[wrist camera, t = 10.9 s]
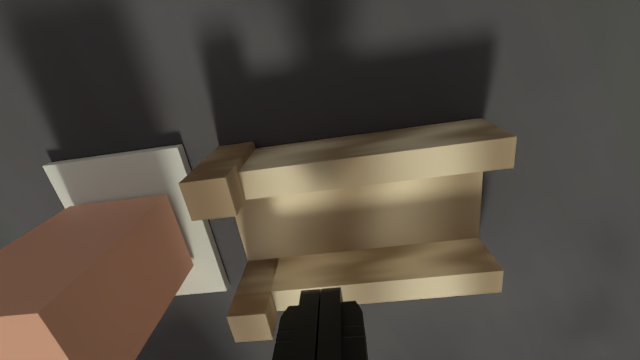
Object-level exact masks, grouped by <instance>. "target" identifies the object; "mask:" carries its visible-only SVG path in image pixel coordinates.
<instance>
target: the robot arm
mask: <svg viewBox="0 0 640 360" xmlns="http://www.w3.org/2000/svg"><path fill="white" fill-rule="evenodd" d="M272 360H368V355H367V344H366V336H365V328H364V320H363V313H362V310H361V308H360V307H359V305H358V304H357V302H356V301H345V302H343V298H342V291H341V287H336V288H324V289H314V290H302V291H301V294H300V300H299V305H296V306H288V307H287V309H286V310H285V312H284V313H283V315H282V316H281V319H280V324H279V328H278V333H277V338H276V344H275V348H274V353H273V358H272Z"/></svg>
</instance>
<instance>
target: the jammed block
mask: <svg viewBox="0 0 640 360" xmlns="http://www.w3.org/2000/svg"><path fill="white" fill-rule="evenodd" d="M193 266H194V265H193V262H192V259H191V257H190V254H189V252H188V249H187V246H186V244H185V241H184V239H183V236H182V233H181V231H180V228H179V225H178V223H177V220H176V218H175V215H174V212H173V210H172V207H171V204H170V202H169V199H168V197H167V194H165V195H157V196H149V197H141V198H133V199H125V200H117V201H109V202H101V203H93V204H85V205H77V206H69V207H68V208H66V209H64V210H63V211H61V212H60V213H58V214H56V215H55V216H53V217H52V218H50V219H48V220H47V221H45V222H44V223H42V224H40V225H39V226H37V227H36V228H34V229H33V230H31V231H29V232H28V233H26V234H25V235H23V236H21V237H20V238H18V239H17V240H15V241H13V242H12V243H10V244H9V245H7V246H5V247H4V248H2V249H1V250H0V360H135V359H136V358H137V356H138V355H139V353H140V351H141V350H142V348H143V347H144V345H145V343H146V342H147V340H148V338H149V337H150V335H151V334H152V332H153V330H154V329H155V327H156V326H157V324H158V322H159V321H160V319H161V318H162V316H163V314H164V313H165V311H166V309H167V308H168V306H169V305H170V303H171V301H172V300H173V298H174V297H175V295H176V293H177V292H178V290H179V289H180V287H181V285H182V284H183V282H184V280H185V279H186V277H187V276H188V274H189V272H190V271H191V269H192V268H193Z"/></svg>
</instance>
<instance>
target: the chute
mask: <svg viewBox="0 0 640 360" xmlns="http://www.w3.org/2000/svg"><path fill="white" fill-rule="evenodd" d="M516 139H517V136H515V135H513V134H511V133H509V132H507V131H505V130H503V129H501V128H499V127H497V126H495V125H494V124H492V123H490V122H488V121H486V120H484V119H482V118H476V119H469V120H461V121H454V122H446V123H439V124H432V125H424V126H417V127H409V128H402V129H395V130H387V131H380V132H372V133H365V134H358V135H350V136H343V137H335V138H328V139H321V140H313V141H306V142H298V143H291V144H284V145H276V146H269V147H261V148H255V144H254V141H253V142H246V143H238V144H231V145H224V146H218V147H217V148H216V149H215V150H214V151H213V152H212V153H211V154H210V155H209V156H208V157H207V158H205V159H204V160H203V161H202V162H201V163H200V164H199V165H198V166H197V167H196V168H195V169H194V170H192V171H191V172H190V173H189V174H188V175H187V176H186V177H185V178H184V179H183V180H182V181H180V182H179V183H178V184H179V187H180V189H181V192H182V195H183V198H184V201H185V203H186V206H187V209H188V212H189V214H190V217H191V220H192V221H198V220H207V219H216V218H224V217H233V216H235V219H236V222H237V225H238V229H239V232H240V235H241V239H242V242H243V246H244V249H245V252H246V256H247V259H248V262H247V265H246V268H245V270H244V273H243V275H242V278H241V281H240V283H239V286H238V288H237V291H236V294H235V296H234V299H233V301H232V304H231V307H230V309H229V312H228V314H227V320H228V323H229V326H230V328H231V331H232V334H233V337H234V339H235V342H248V341H261V340H273V336H274V331H275V326H276V321H277V317H278V312H279V311H284V310H286V309H287V307H288V306H296V305H299V300H300V294H301V291H302V290H314V289H324V288H336V287H341V291H342V298H343V302H345V301H356V302H357V304H367V303H378V302H390V301H402V300H414V299H426V298H438V297H449V296H461V295H473V294H485V293H497V292H501V290H502V280H503V269H502V268H501V267H500V265H499V264H498V263H497V261H496V260H495V259H494V257H493V256H492V255H491V253H490V252H489V251H488V249H487V248H486V246H485V245H484V244H483V242H482V241H481V240H480V238H479V230H480V213H481V196H482V179H483V171H491V170H499V169H507V168H514V160H515V150H516Z"/></svg>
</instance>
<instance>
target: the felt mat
mask: <svg viewBox="0 0 640 360" xmlns="http://www.w3.org/2000/svg"><path fill="white" fill-rule="evenodd" d="M43 168H44V170H45V172H46V174H47V176H48V178H49V179H50V181H51V183H52V185H53V187H54V189H55V191H56V193H57V194H58V196H59V198H60V200H61V202H62V204H63V206H64V208H65V209H66V208H68V207H69V206H77V205H85V204H93V203H101V202H109V201H117V200H125V199H133V198H141V197H149V196H157V195H165V194H167V197H168V199H169V202H170V204H171V207H172V210H173V212H174V215H175V218H176V220H177V223H178V225H179V228H180V231H181V233H182V236H183V239H184V241H185V244H186V246H187V249H188V252H189V254H190V257H191V259H192V262H193V265H194V266H193V268H192V269H191V271H190V272H189V274H188V276H187V277H186V279H185V280H184V282H183V284H182V285H181V287H180V289H179V290H178V292H177V293H176V295H187V294H198V293H209V292H220V291H227V289H228V287H229V282H228V279H227V276H226V273H225V270H224V267H223V264H222V261H221V258H220V255H219V252H218V249H217V246H216V243H215V240H214V237H213V234H212V231H211V228H210V225H209V222H208V219H207V220H198V221H192V220H191V217H190V214H189V212H188V209H187V206H186V203H185V201H184V198H183V195H182V192H181V189H180V187H179V184H178V183H179V182H180V181H182V180H183V179H184V178H185V177H186V176H187V175H188V174H189V173H190V172H191V169H190V166H189V163H188V160H187V157H186V154H185V151H184V148H183V145H182V144H179V145H172V146H165V147H158V148H151V149H143V150H136V151H129V152H122V153H115V154H108V155H100V156H93V157H86V158H79V159H72V160H65V161H57V162H51V163H49V164H46V165H44V166H43ZM176 295H175V296H176Z"/></svg>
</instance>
